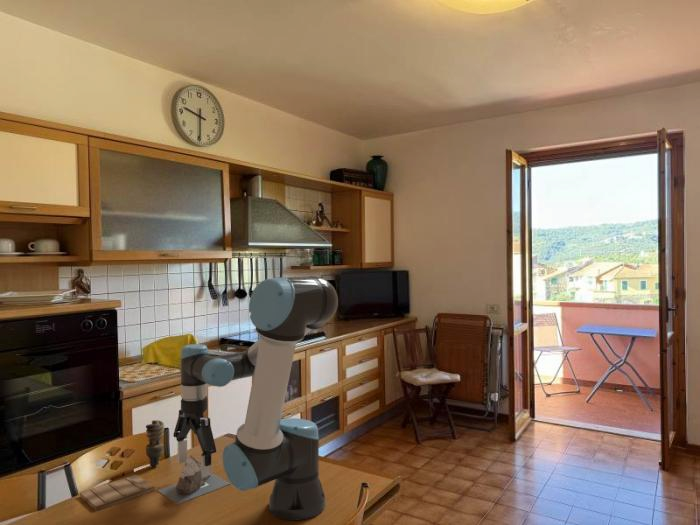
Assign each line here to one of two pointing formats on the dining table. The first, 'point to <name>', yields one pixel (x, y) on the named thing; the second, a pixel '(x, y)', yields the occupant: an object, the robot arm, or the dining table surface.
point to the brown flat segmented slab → (116, 492)
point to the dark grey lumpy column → (154, 441)
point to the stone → (190, 477)
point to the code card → (206, 487)
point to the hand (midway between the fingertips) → (193, 468)
